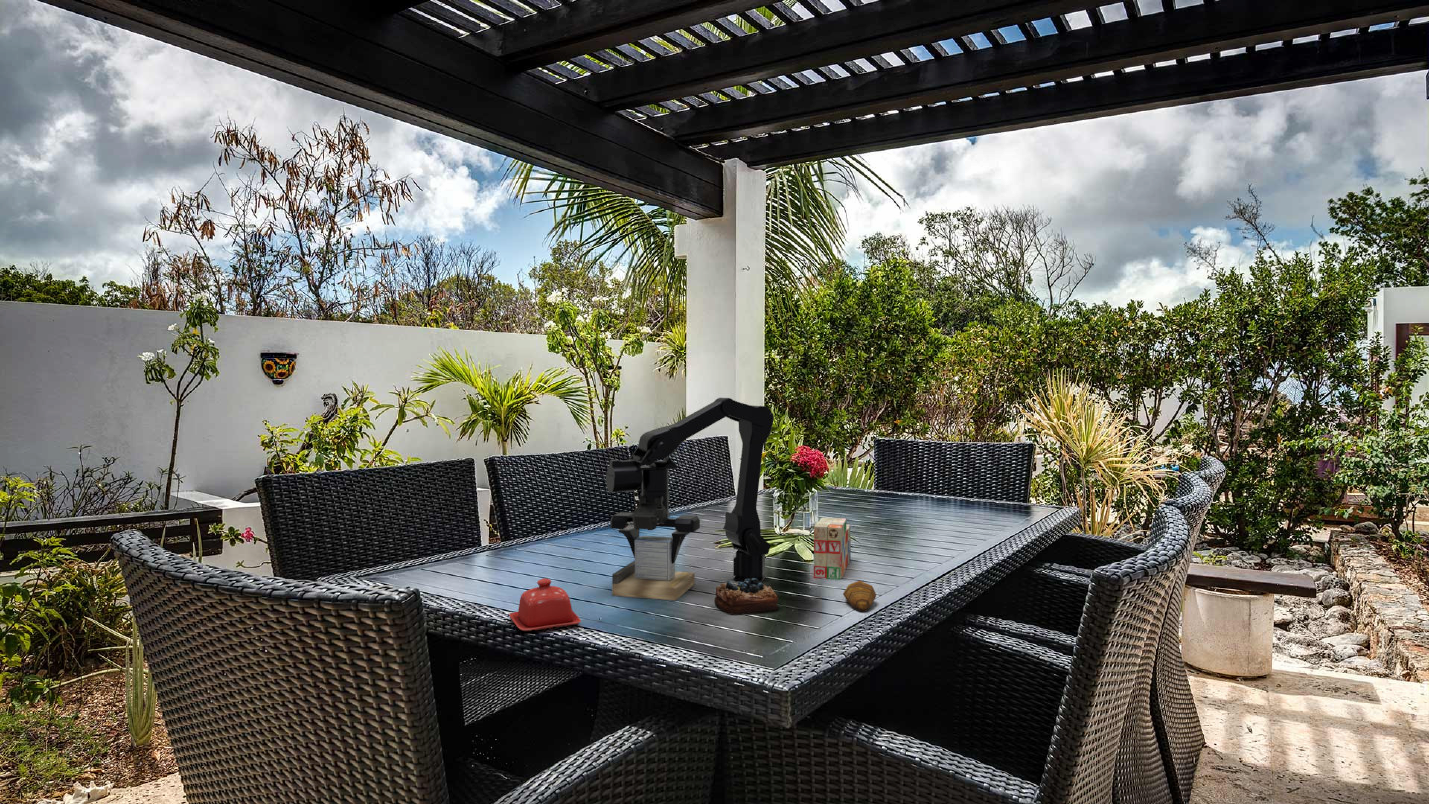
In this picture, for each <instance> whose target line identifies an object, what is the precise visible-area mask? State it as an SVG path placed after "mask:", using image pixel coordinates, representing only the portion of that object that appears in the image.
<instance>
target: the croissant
mask: <svg viewBox="0 0 1429 804" xmlns="http://www.w3.org/2000/svg"><path fill="white" fill-rule="evenodd" d="M842 595H843V596H844V598H845V600H846V602H847V603H848V604H849V605H850V606H851V608H852V609H854V610H855V609H856V611H858V612H863V613H864V612H867V611H868V610H870V609H871V607H872V605H873V603H874V601H875V599H877V592H876V591H875V589H874V587H873V585H872V584H870V583H868V582H867V583H866V582H864V581H861V580H858V581H855V582H852V583H850V584H847V587H846V588H845V590H844V591H843V593H842Z"/></svg>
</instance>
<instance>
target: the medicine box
mask: <svg viewBox="0 0 1429 804" xmlns="http://www.w3.org/2000/svg"><path fill="white" fill-rule="evenodd" d="M672 543H673V538H672V536H671V537H670V536H656V535H655V536H653V535H641V536H639V538H637V539H636V540H635V558H634V561H635V579H651V580H666V581H669V580H671V579H672V578H673V577H674V576H675V571H676V562H675V563H672V558H671V556H672Z"/></svg>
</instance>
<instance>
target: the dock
mask: <svg viewBox="0 0 1429 804" xmlns="http://www.w3.org/2000/svg"><path fill="white" fill-rule="evenodd" d="M695 573H696V572H690V571H689V572H688V571H676V570H675V576H674V577H673V578H672V579H671V580H669V581H666V580H651V579H635V560H633V561H632V562H630V563H628V564H626V565H625V566H624V567H622V568H620V569H618V570H617V571H615V572H614V573H612V574H611V575H612V579H611V580H612V581H611V582H612V583H611V584H612V586H611V587H612V588H611V589H612V590H611V591H612V593H611V594H612V595H614V597H615V596H616V597H625V598H627V597H628V598H639V599H640V598H641V599H654V600H665V601H666V600H667V601H677V600H678V599H679V598H680V597H682V595H684V594H685V593H686V592H688V590H690V589H691V588H692V587H693V586H694V585H695V581H696V577H695Z"/></svg>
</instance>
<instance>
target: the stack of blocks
mask: <svg viewBox="0 0 1429 804" xmlns="http://www.w3.org/2000/svg"><path fill="white" fill-rule="evenodd" d="M851 543H852V538H851V524H847V518H841V517H840V518H839V517H821V518H820V519H819V521H817V523H816V524H815V525H814V526H813V579H820V578H826V579H825V580H834V579H835V581H840V580H841V579H842V577H844V574H845V573H846V570H847V567H848V566H849V564H850V562H851V555H852V554H851V550H852V549H851V548H852V547H851V545H852V544H851ZM845 569H846V570H845ZM844 572H845V573H844Z"/></svg>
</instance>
